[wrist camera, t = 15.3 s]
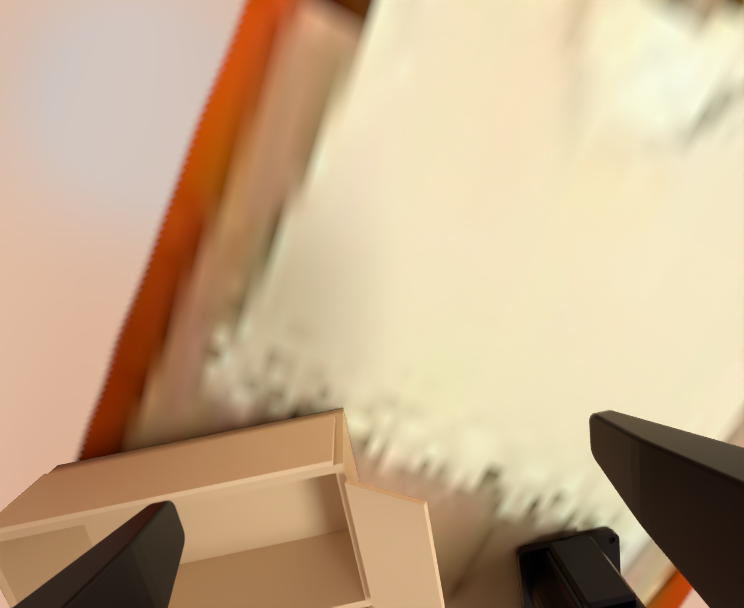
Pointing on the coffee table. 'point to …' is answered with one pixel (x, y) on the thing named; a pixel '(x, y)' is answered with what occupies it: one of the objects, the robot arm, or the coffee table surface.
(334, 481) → the carton
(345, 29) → the coffee table surface
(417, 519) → the inner flap
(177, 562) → the robot arm
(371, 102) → the coffee table surface
